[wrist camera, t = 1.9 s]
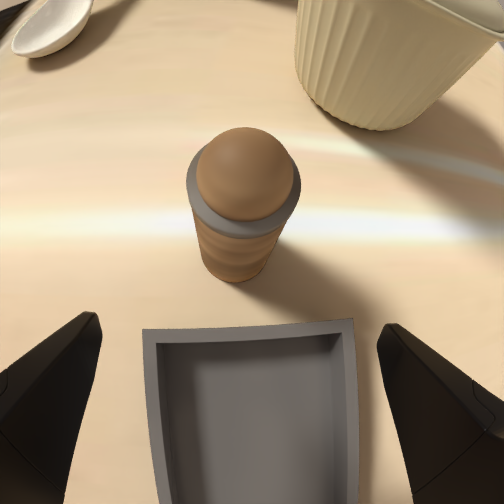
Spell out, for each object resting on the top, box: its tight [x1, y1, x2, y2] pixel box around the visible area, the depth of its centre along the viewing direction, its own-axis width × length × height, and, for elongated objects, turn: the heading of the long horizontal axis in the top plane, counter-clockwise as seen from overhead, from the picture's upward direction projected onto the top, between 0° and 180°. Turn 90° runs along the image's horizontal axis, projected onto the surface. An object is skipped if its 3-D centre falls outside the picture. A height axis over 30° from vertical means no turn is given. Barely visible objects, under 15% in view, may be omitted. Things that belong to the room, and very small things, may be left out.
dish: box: [142, 318, 359, 504], centre depth 17 cm, size 18×13×4 cm
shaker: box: [186, 127, 301, 283], centre depth 17 cm, size 5×5×12 cm
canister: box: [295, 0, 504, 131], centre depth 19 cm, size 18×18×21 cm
